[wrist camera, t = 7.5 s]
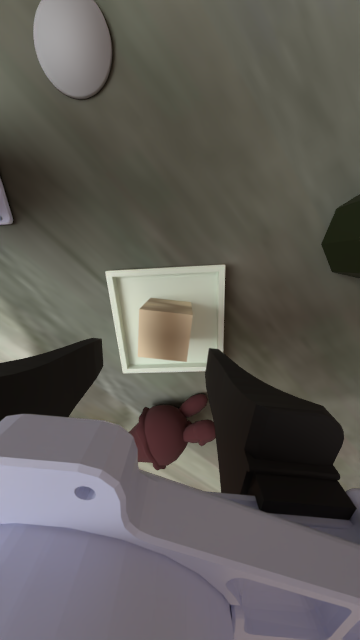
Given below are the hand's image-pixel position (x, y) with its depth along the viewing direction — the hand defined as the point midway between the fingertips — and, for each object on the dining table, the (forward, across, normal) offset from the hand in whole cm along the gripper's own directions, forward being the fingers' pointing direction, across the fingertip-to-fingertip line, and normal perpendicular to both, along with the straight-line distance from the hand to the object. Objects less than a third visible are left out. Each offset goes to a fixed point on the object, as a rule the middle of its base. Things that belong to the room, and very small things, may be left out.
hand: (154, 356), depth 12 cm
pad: (+9, +9, -22) cm, 25 cm away
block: (+9, 0, 0) cm, 9 cm away
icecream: (+10, 0, +15) cm, 17 cm away
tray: (+9, 0, 0) cm, 9 cm away
